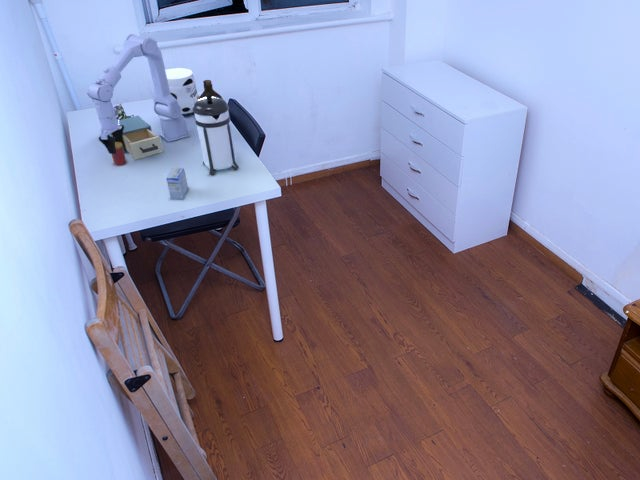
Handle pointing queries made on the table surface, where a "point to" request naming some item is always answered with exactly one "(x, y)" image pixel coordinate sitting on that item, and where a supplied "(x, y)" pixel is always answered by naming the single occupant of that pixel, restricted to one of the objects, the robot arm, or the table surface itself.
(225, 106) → the coffee press
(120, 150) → the tea tin
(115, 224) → the table surface
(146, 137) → the drawer
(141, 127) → the cabinet
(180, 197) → the medicine box
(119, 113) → the passion flower
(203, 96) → the olive oil
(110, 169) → the table surface
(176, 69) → the milk container
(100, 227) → the table surface
